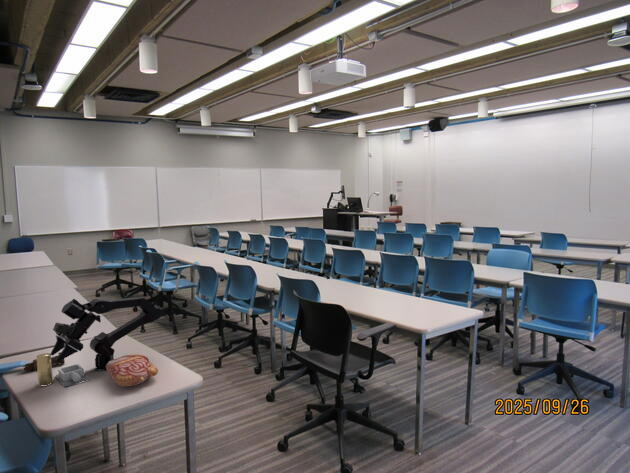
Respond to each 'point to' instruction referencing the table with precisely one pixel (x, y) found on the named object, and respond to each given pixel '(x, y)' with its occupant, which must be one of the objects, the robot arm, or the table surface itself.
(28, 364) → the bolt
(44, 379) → the gold metallic cylinder
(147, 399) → the table surface
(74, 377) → the manifold
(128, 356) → the anatomical model
